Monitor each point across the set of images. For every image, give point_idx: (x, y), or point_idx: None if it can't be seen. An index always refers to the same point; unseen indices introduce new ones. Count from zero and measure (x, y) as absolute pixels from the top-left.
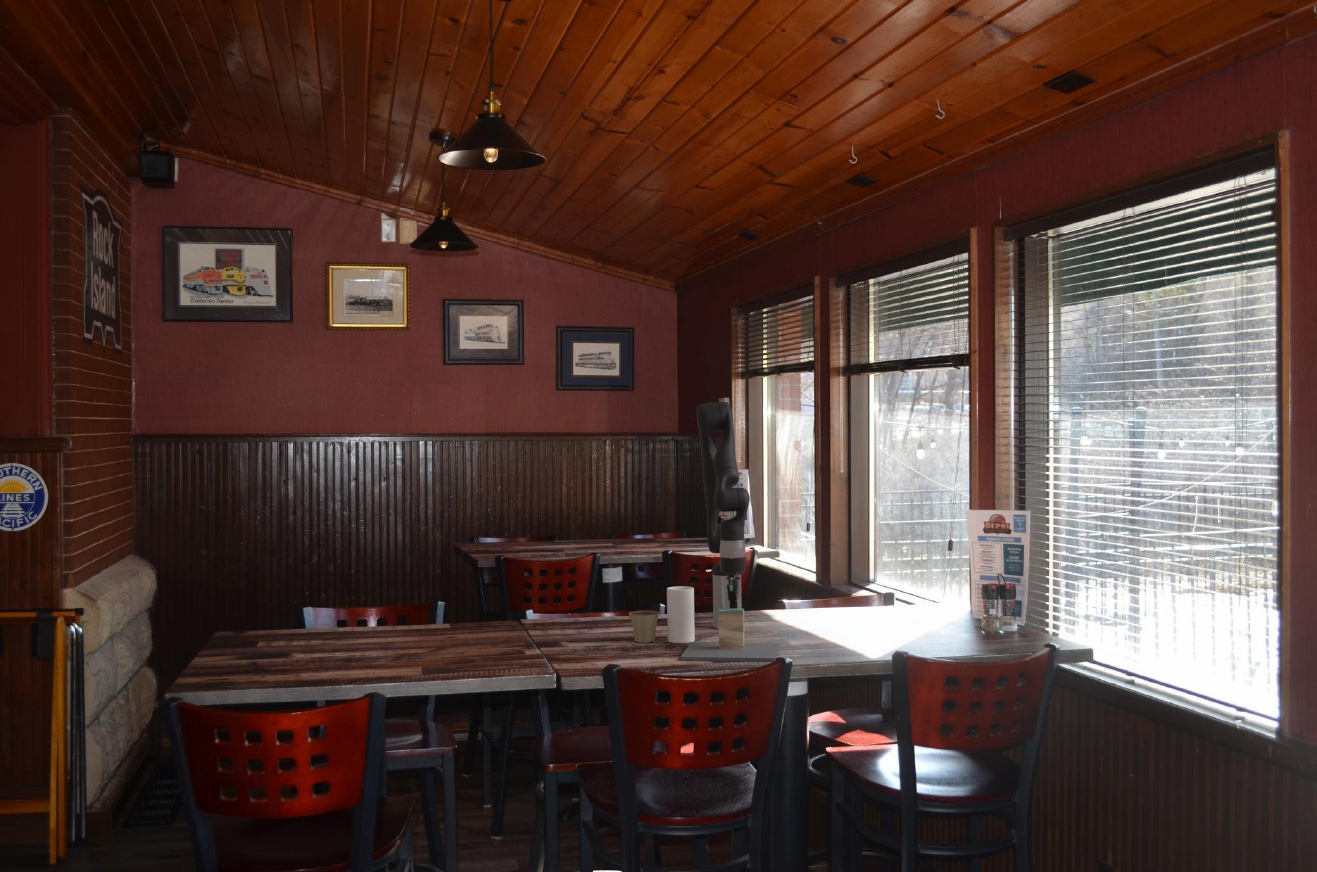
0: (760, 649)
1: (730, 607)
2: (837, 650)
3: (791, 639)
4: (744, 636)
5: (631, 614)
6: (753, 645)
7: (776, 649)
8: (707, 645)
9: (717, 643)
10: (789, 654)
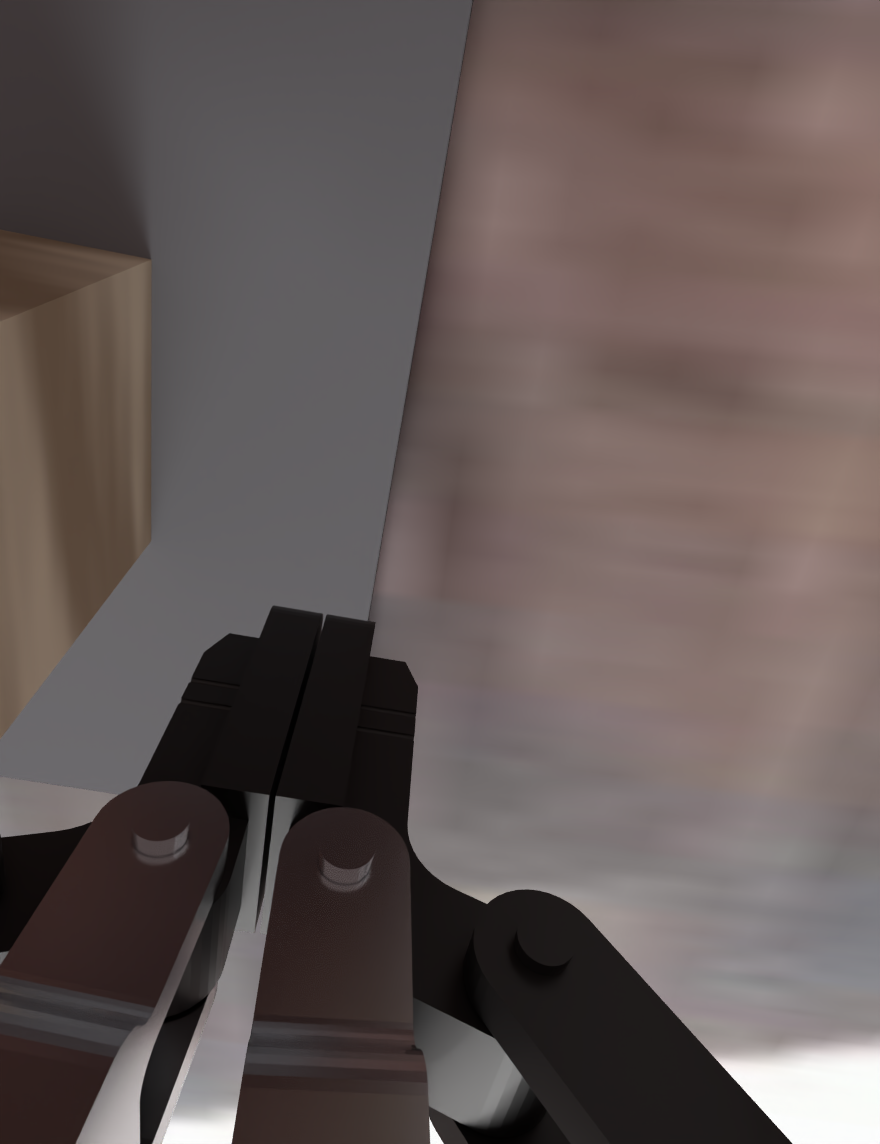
0: None
1: (237, 697)
2: (193, 1061)
3: (651, 916)
4: (99, 599)
5: None
6: (223, 629)
7: (36, 778)
8: (208, 54)
9: (362, 232)
10: (9, 826)
